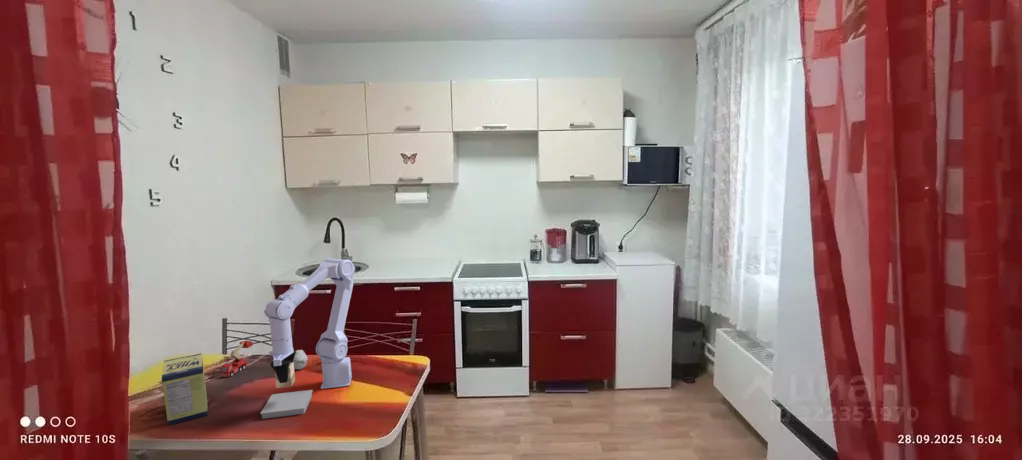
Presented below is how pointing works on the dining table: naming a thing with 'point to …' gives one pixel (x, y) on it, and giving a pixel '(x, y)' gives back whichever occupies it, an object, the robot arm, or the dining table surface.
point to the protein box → (184, 389)
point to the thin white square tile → (287, 404)
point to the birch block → (290, 378)
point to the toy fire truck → (236, 361)
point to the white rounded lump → (300, 359)
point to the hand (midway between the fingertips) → (285, 378)
